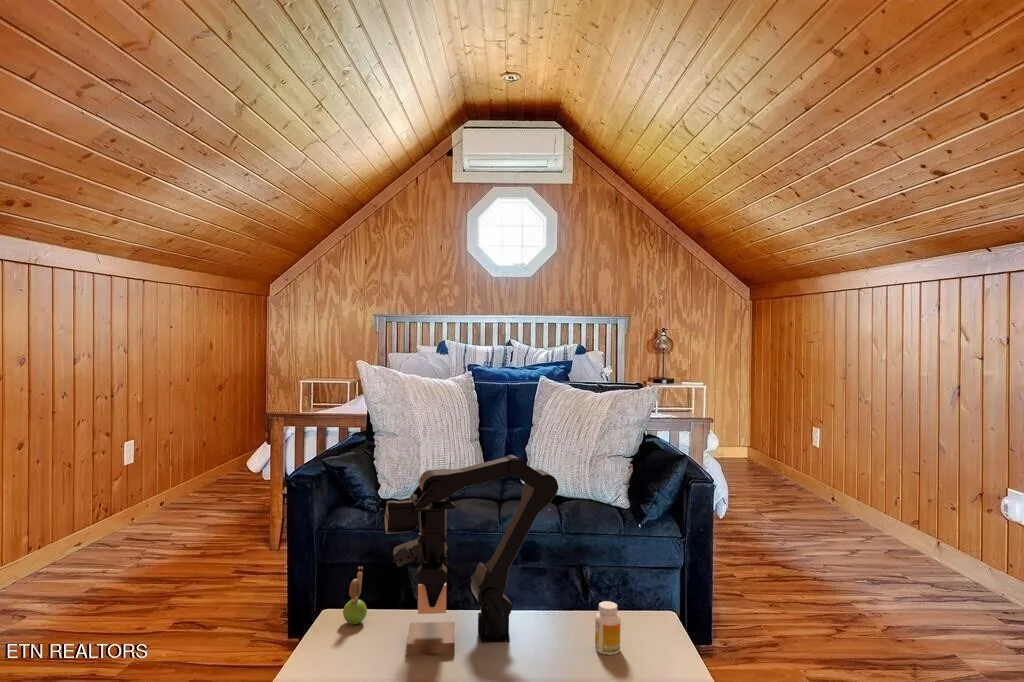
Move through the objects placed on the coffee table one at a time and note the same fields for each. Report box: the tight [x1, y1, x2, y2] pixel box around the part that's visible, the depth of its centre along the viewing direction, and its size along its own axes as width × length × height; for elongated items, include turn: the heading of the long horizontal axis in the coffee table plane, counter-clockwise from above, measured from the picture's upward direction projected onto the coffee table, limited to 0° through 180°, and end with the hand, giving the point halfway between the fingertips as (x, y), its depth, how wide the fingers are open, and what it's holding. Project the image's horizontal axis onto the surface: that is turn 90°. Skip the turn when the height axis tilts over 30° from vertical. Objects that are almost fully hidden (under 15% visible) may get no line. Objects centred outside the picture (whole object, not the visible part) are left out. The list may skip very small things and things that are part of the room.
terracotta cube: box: [417, 582, 447, 615], centre depth 141 cm, size 6×6×6 cm
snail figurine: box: [342, 566, 368, 625], centre depth 151 cm, size 5×6×12 cm
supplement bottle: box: [594, 600, 621, 656], centre depth 139 cm, size 5×5×10 cm
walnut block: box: [406, 621, 456, 657], centre depth 141 cm, size 10×10×3 cm
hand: (432, 600), depth 141 cm, fingers closed on terracotta cube, 6 cm apart
